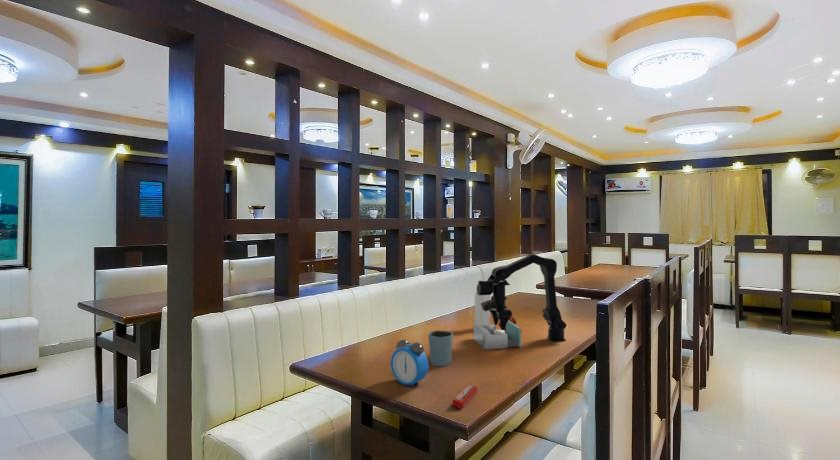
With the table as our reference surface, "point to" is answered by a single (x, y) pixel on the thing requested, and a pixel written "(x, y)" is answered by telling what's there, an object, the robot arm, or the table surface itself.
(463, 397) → the candy bar
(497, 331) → the grey rounded tapered piece
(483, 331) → the dock
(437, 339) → the grey-green cup
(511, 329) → the drawer
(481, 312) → the milk
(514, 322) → the dragon fruit
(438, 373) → the table surface
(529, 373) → the table surface
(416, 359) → the alarm clock
